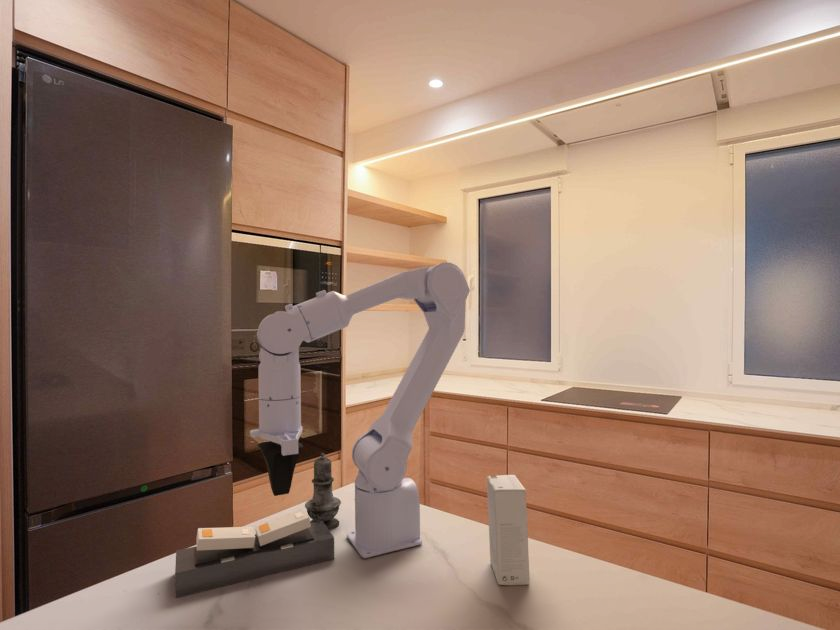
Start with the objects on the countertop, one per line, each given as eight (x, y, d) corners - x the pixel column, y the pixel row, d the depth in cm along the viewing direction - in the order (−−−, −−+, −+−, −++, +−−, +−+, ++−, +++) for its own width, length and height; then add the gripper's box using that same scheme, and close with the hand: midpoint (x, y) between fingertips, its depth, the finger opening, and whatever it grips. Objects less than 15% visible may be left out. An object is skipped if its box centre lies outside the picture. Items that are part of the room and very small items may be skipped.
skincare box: (531, 585, 60) (529, 489, 60) (495, 586, 59) (494, 490, 59) (519, 560, 66) (518, 473, 66) (487, 561, 66) (486, 474, 66)
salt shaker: (333, 534, 74) (332, 458, 74) (298, 531, 76) (297, 456, 76) (346, 518, 80) (345, 448, 80) (314, 516, 81) (313, 446, 81)
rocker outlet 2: (305, 517, 70) (303, 507, 70) (311, 526, 67) (309, 516, 67) (256, 535, 67) (254, 525, 67) (260, 546, 64) (258, 536, 63)
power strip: (322, 539, 72) (322, 519, 72) (334, 558, 67) (334, 536, 67) (176, 572, 64) (176, 549, 64) (175, 597, 58) (175, 571, 58)
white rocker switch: (250, 536, 66) (252, 526, 67) (253, 547, 63) (255, 536, 63) (196, 538, 63) (198, 527, 64) (196, 550, 60) (198, 538, 60)
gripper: (244, 392, 71) (245, 482, 71) (257, 408, 58) (258, 518, 58) (291, 388, 75) (292, 474, 74) (313, 403, 62) (314, 507, 61)
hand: (280, 493), depth 67 cm, fingers closed
